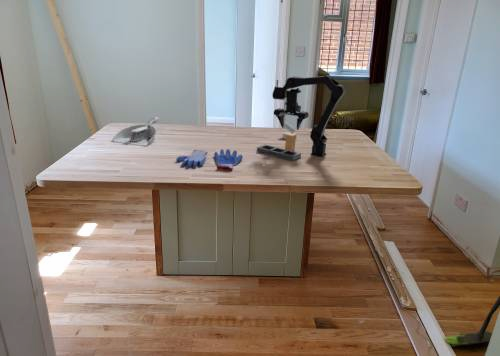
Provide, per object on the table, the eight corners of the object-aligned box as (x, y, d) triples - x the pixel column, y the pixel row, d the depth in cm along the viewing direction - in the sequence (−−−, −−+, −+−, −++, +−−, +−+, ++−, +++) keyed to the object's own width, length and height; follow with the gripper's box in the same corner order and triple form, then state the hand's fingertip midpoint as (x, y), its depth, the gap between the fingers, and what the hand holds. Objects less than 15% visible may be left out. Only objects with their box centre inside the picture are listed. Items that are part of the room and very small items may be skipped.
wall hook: (286, 120, 246) (300, 123, 241) (285, 134, 250) (298, 137, 244) (279, 122, 240) (293, 125, 235) (278, 137, 244) (291, 140, 238)
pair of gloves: (172, 168, 186) (171, 161, 184) (184, 152, 209) (184, 145, 208) (238, 173, 184) (238, 165, 182) (243, 156, 207) (243, 149, 206)
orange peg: (294, 149, 220) (296, 134, 217) (290, 151, 217) (292, 135, 214) (288, 148, 222) (289, 133, 219) (284, 150, 219) (286, 134, 216)
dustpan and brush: (110, 142, 220) (109, 125, 216) (142, 128, 249) (141, 114, 246) (147, 147, 214) (146, 130, 210) (174, 133, 244) (174, 118, 240)
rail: (300, 157, 208) (301, 153, 207) (293, 161, 201) (293, 156, 201) (264, 148, 220) (265, 144, 219) (256, 151, 214) (257, 147, 213)
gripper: (313, 100, 213) (311, 128, 219) (282, 97, 222) (281, 123, 228) (305, 103, 204) (303, 132, 210) (273, 99, 213) (272, 127, 219)
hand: (290, 128), depth 217 cm, fingers open, 9 cm apart
